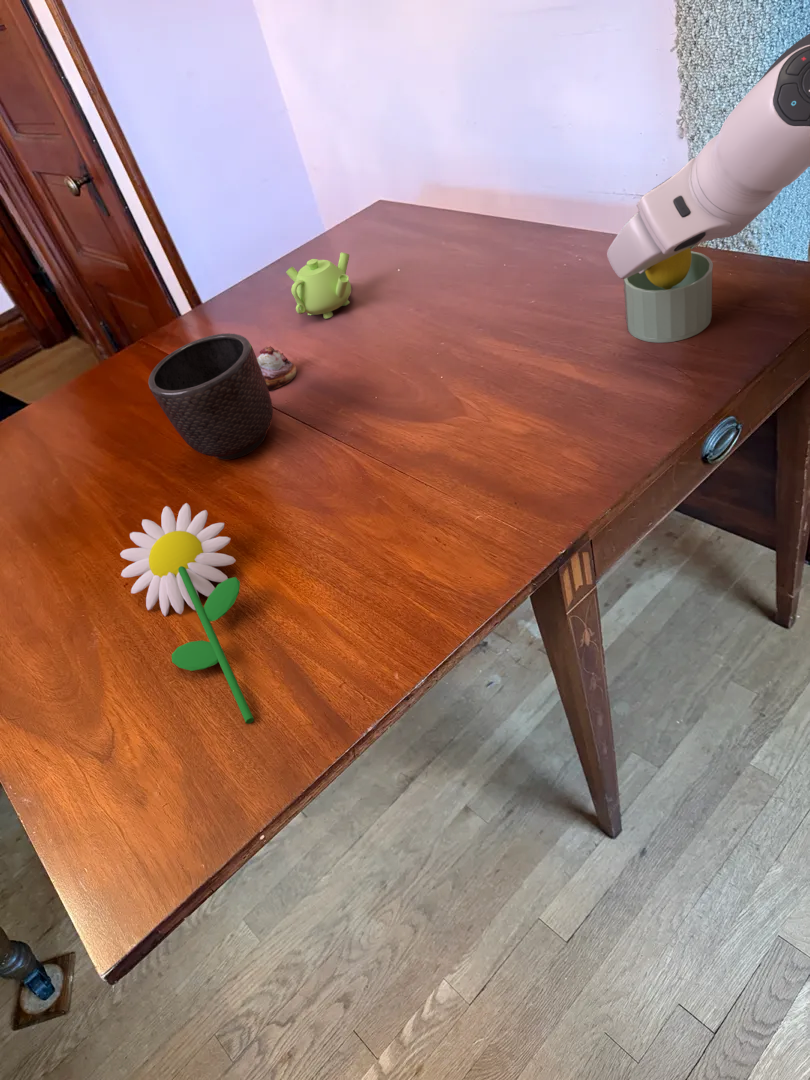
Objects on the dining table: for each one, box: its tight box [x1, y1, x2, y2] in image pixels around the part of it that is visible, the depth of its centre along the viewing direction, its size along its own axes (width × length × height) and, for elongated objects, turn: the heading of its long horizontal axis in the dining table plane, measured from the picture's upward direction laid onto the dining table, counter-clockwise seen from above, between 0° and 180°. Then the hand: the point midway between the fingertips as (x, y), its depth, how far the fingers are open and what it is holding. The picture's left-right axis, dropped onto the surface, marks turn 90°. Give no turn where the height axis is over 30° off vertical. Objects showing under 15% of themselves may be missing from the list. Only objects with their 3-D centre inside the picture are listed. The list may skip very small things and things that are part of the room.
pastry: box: [256, 345, 297, 391], centre depth 112 cm, size 8×8×5 cm
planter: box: [147, 332, 274, 461], centre depth 99 cm, size 14×14×13 cm
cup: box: [622, 250, 714, 344], centre depth 95 cm, size 10×10×7 cm
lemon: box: [645, 248, 692, 290], centre depth 92 cm, size 6×6×8 cm
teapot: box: [285, 252, 352, 320], centre depth 124 cm, size 11×12×8 cm
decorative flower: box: [119, 502, 255, 725], centre depth 78 cm, size 13×5×30 cm
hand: (664, 255), depth 92 cm, fingers closed on lemon, 5 cm apart
